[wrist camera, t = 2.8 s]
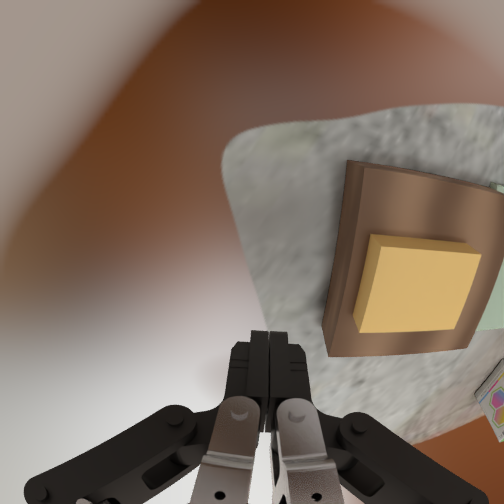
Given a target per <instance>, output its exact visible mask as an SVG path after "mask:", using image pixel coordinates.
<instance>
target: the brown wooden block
mask: <svg viewBox="0 0 504 504" xmlns="http://www.w3.org/2000/svg"><path fill="white" fill-rule="evenodd" d="M370 234H376V235H388V236H399V237H410V238H420V239H430V240H440V241H450V242H459V243H467V244H468V245H470V246H471V247H472V248H474V249H475V250H476V251H477V252H479V253H480V254H481V258H480V261H479V265H478V268H477V271H476V274H475V277H474V280H473V283H472V286H471V288H470V291H469V294H468V296H467V299H466V302H465V304H464V307H463V309H462V312H461V314H460V316H459V319H458V321H457V324H456V326H455V328H454V329H449V330H434V331H415V332H386V333H359V331H358V328H357V325H356V323H355V320H354V318H353V312H354V308H355V304H356V300H357V296H358V292H359V287H360V283H361V279H362V274H363V270H364V265H365V260H366V255H367V250H368V245H369V240H370ZM503 259H504V193H501V192H499V191H497V190H494V189H492V188H489V187H485V186H482V185H478V184H474V183H470V182H466V181H462V180H458V179H453V178H449V177H444V176H440V175H435V174H430V173H425V172H420V171H415V170H409V169H404V168H398V167H392V166H386V165H380V164H373V163H366V162H359V161H352V160H347V168H346V177H345V186H344V195H343V203H342V211H341V218H340V225H339V232H338V239H337V245H336V252H335V258H334V264H333V270H332V275H331V281H330V286H329V292H328V297H327V302H326V307H325V312H324V317H323V322H322V330H323V335H324V339H325V344H326V348H327V353H328V357H363V356H387V355H404V354H417V353H428V352H438V351H448V350H456V349H464V348H467V347H468V345H469V343H470V341H471V339H472V337H473V335H474V333H475V331H476V329H477V326H478V324H479V322H480V320H481V318H482V315H483V313H484V311H485V308H486V306H487V303H488V301H489V299H490V296H491V293H492V291H493V288H494V286H495V283H496V280H497V277H498V274H499V271H500V268H501V265H502V262H503Z"/></svg>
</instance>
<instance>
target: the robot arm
mask: <svg viewBox="0 0 504 504" xmlns="http://www.w3.org/2000/svg"><path fill="white" fill-rule="evenodd" d="M307 370H308V369H307V364H306V355H305V352H304V350H303V349H302V348H301V346H300V345H299V344H288V334H287V332H277V331H270V333H269V332H268V331H256V330H252V331H251V340H250V342H239V341H238V342H237V343H236V344H235V346H234V347H233V348H232V349H231V356H230V362H229V369H228V376H227V382H226V389H225V396H224V399H223V401H222V402H221V403H220V405H218V406H217V407H216V408H214V409H211V410H208V411H204V412H197V413H193V412H192V411H191V410H190V409H189V408H187V407H185V406H181V405H169V406H166V407H164V408H162V409H160V410H159V411H157V412H155V413H154V414H152V415H150V416H149V417H147V418H146V419H144V420H142V421H140V422H139V423H137V424H135V425H134V426H132V427H130V428H128V429H127V430H125V431H123V432H121V433H120V434H118V435H116V436H114V437H113V438H111V439H109V440H107V441H106V442H104V443H102V444H100V445H98V446H96V447H94V448H92V449H90V450H89V451H87V452H85V453H83V454H81V455H79V456H77V457H75V458H73V459H71V460H69V461H67V462H65V463H63V464H61V465H59V466H57V467H54V468H52V469H50V470H48V471H46V472H44V473H41V474H39V475H37V476H35V477H33V478H31V479H29V480H28V481H27V483H26V484H25V487H24V497H25V500H26V502H27V503H28V504H143V503H144V502H146V501H148V500H149V499H151V498H153V497H154V496H156V495H157V494H159V493H160V492H162V491H163V490H165V489H166V488H168V487H169V486H171V485H172V484H174V483H175V482H177V481H178V480H180V479H181V478H182V477H184V476H185V475H187V474H188V473H189V472H191V471H192V470H193V469H195V468H196V467H197V466H199V465H200V467H199V471H198V475H197V479H196V482H195V486H194V490H193V493H192V497H191V501H190V503H188V504H248V498H249V491H250V484H251V478H252V471H253V464H254V458H255V450H256V448H257V446H258V441H259V434H260V432H263V431H264V424H265V432H270V433H271V444H270V460H271V472H272V484H273V496H272V504H344V499H343V495H342V490H341V486H340V484H341V485H342V486H343V487H345V488H346V489H347V490H348V491H350V492H351V493H352V494H353V495H355V496H356V497H357V498H358V499H360V500H361V501H362V502H364V503H365V504H489V500H488V498H487V496H486V494H485V493H484V492H482V491H481V490H479V489H478V488H476V487H474V486H472V485H471V484H469V483H468V482H466V481H465V480H463V479H461V478H460V477H458V476H457V475H455V474H453V473H452V472H450V471H449V470H447V469H446V468H444V467H443V466H441V465H440V464H438V463H437V462H435V461H434V460H432V459H431V458H429V457H428V456H426V455H425V454H423V453H421V452H420V451H419V450H417V449H416V448H414V447H413V446H412V445H410V444H409V443H407V442H406V441H404V440H403V439H402V438H400V437H399V436H397V435H396V434H394V433H393V432H392V431H390V430H389V429H388V428H386V427H385V426H383V425H382V424H381V423H379V422H378V421H377V420H375V419H374V418H372V417H371V416H369V415H368V414H365V413H361V412H354V413H350V414H348V415H346V416H345V417H343V418H338V417H334V416H329V415H326V414H324V413H322V412H320V411H319V410H318V409H317V408H316V407H315V406H314V405H313V402H312V399H311V392H310V384H309V377H308V372H307Z"/></svg>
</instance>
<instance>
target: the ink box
mask: <svg viewBox="0 0 504 504" xmlns="http://www.w3.org/2000/svg"><path fill="white" fill-rule="evenodd" d="M475 396H476V398H477V400H478V402H479V404H480V406H481V408H482V409H483V411H484V413H485V415H486V417H487V419H488V420H489V422H490V424H491V426H492V428H493V430H494V432H495V434H496V436H497V438H498V440H499V442H502V441H504V359H502V360H501V362H500V363H499V364H498V366H497V367H496V368H495V370H494V371H493V372H492V374H491V375H490V376H489V377H488V379H487V380H486V381H485V382H484V384H483V385H482V386H481V387H480V388H479V390H478V391H477V392H476V393H475Z"/></svg>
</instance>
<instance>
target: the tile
mask: <svg viewBox="0 0 504 504" xmlns="http://www.w3.org/2000/svg"><path fill="white" fill-rule="evenodd" d="M480 258H481V254H480V253H479V252H477V251H476V250H475V249H474V248H472V247H471V246H470V245H468V244H467V243H459V242H450V241H440V240H430V239H420V238H410V237H399V236H388V235H376V234H370V240H369V245H368V250H367V255H366V260H365V265H364V270H363V274H362V279H361V283H360V287H359V292H358V296H357V300H356V304H355V308H354V312H353V318H354V320H355V323H356V325H357V328H358V331H359V333H386V332H415V331H434V330H449V329H454V328H455V326H456V324H457V321H458V319H459V316H460V314H461V312H462V309H463V307H464V304H465V302H466V299H467V296H468V294H469V291H470V288H471V286H472V283H473V280H474V277H475V274H476V271H477V268H478V265H479V261H480Z"/></svg>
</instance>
